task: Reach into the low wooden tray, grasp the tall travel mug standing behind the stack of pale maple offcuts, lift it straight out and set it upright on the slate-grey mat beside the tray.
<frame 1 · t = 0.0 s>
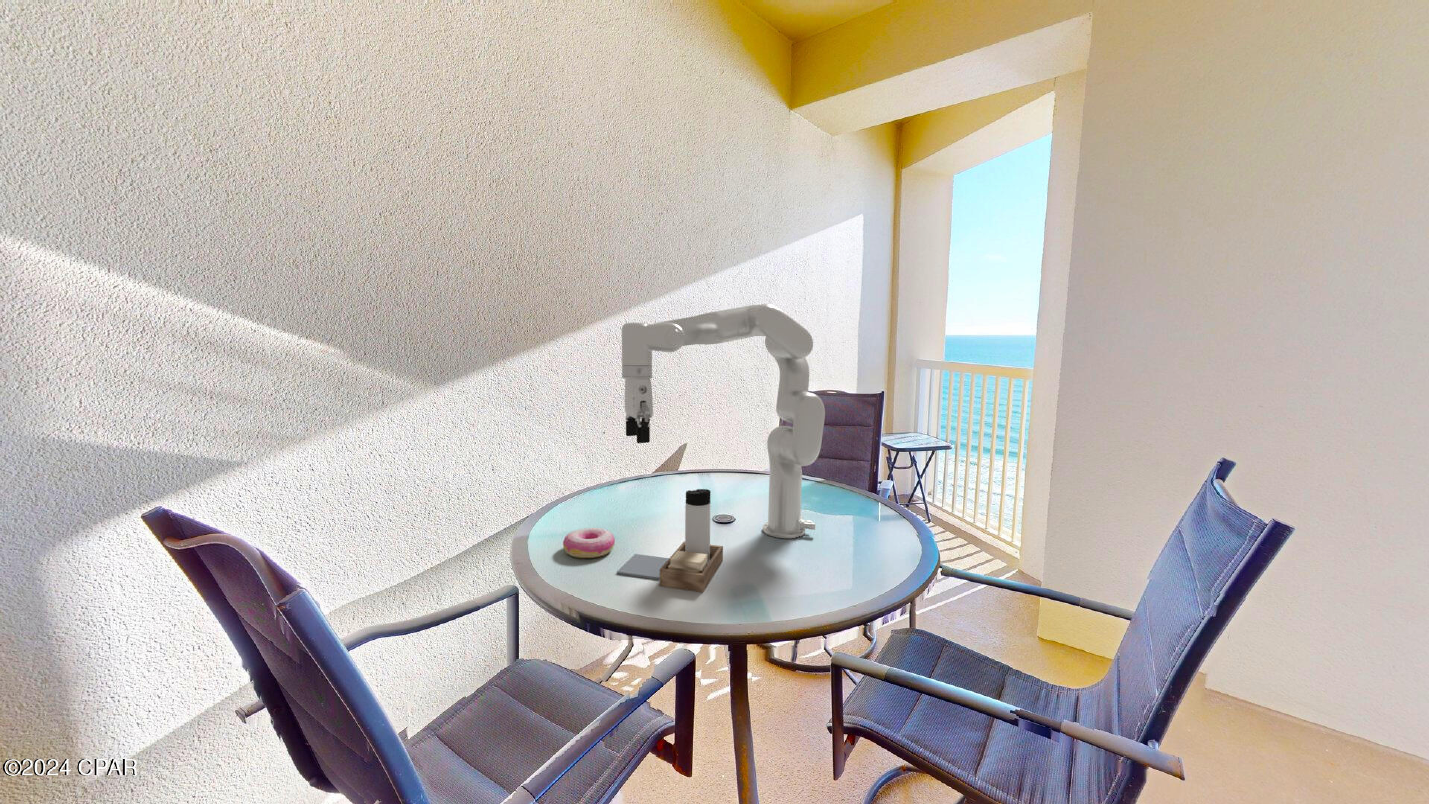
hand: (637, 439, 137), 31 cm above the table, tool pointing down, fingers open, 9 cm apart
donut: (589, 552, 144), on the table
slate mat: (646, 567, 134), on the table
wooden tray: (692, 572, 131), on the table
maple offcut stack: (687, 580, 128), resting in wooden tray
travel mug: (697, 566, 135), resting in wooden tray
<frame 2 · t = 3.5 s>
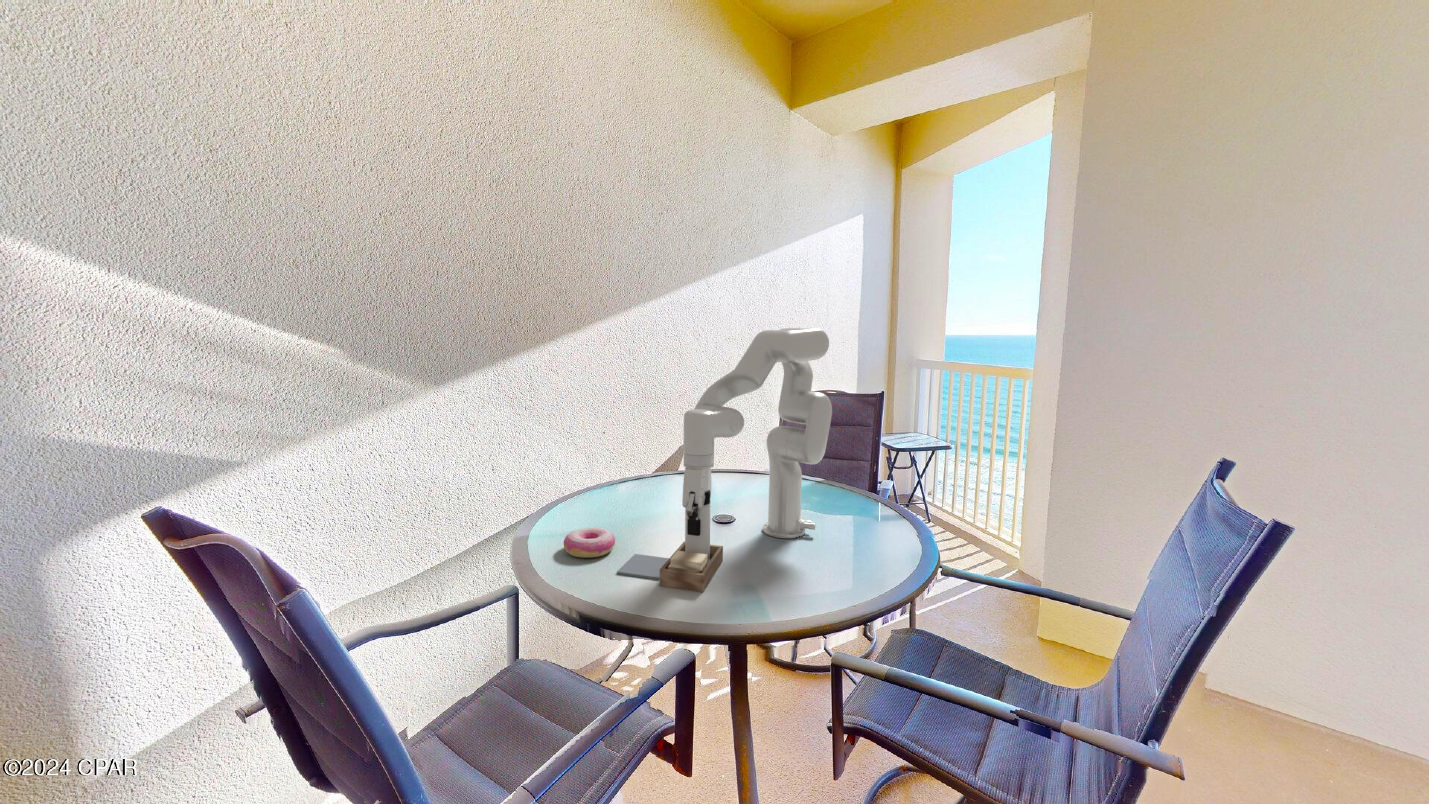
hand: (698, 529, 134), 10 cm above the table, tool pointing down, fingers closed on travel mug, 6 cm apart
travel mug: (697, 566, 135), resting in wooden tray, touching gripper
everything else where it was.
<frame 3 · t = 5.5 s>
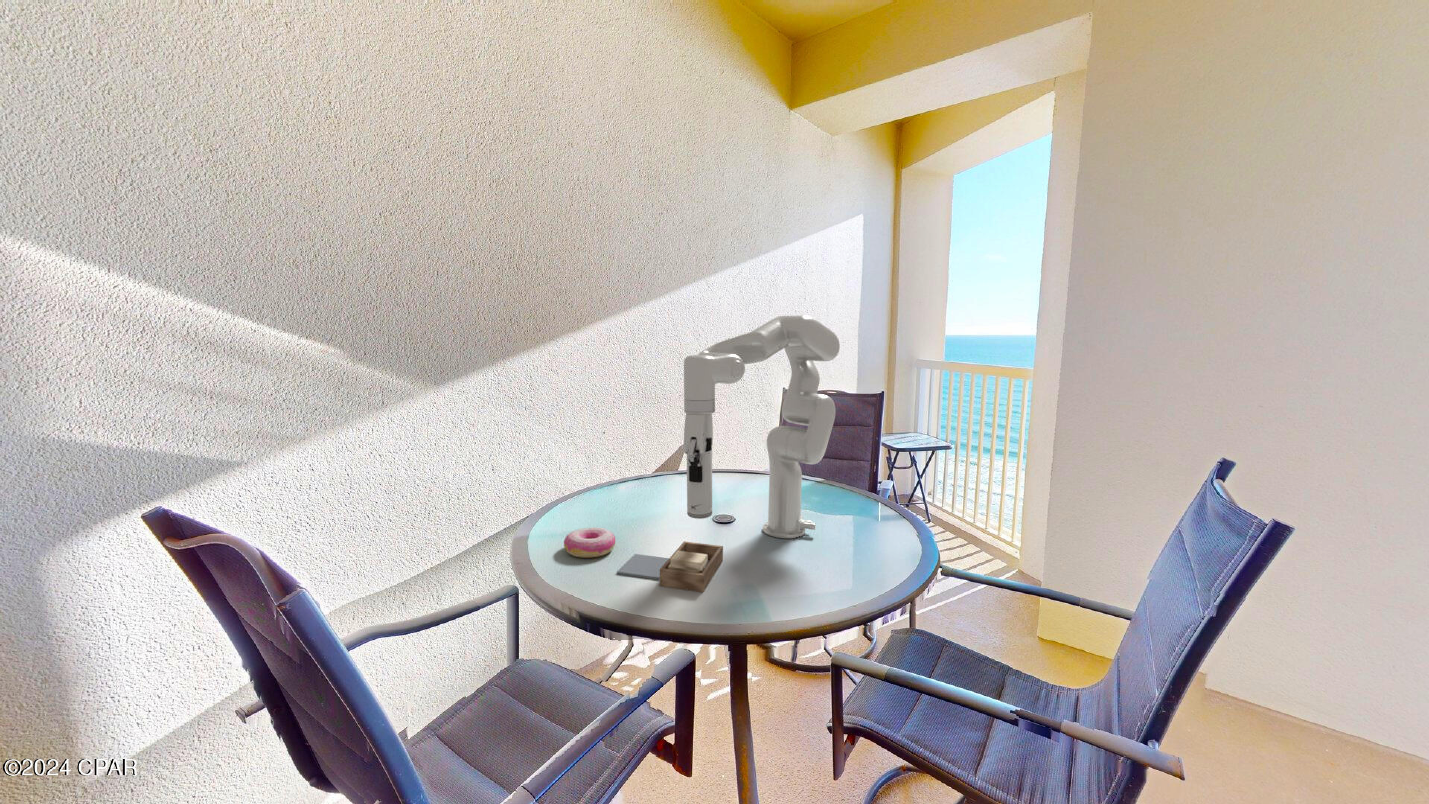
hand: (700, 477, 133), 23 cm above the table, tool pointing down, fingers closed on travel mug, 6 cm apart
travel mug: (700, 515, 134), point 13 cm above the table, touching gripper
everything else where it was.
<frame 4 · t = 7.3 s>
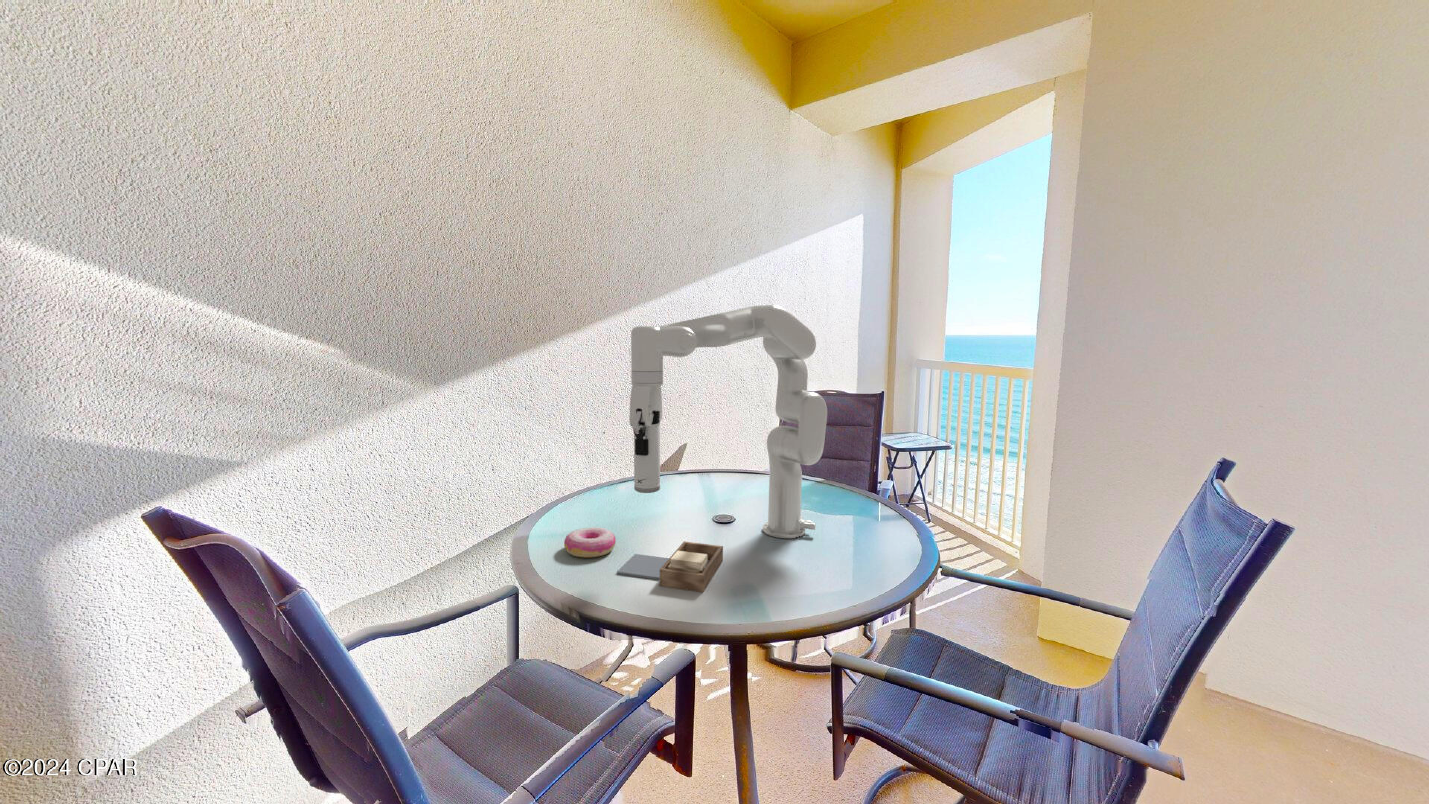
hand: (647, 451, 130), 30 cm above the table, tool pointing down, fingers closed on travel mug, 6 cm apart
travel mug: (647, 490, 132), point 20 cm above the table, touching gripper
everything else where it was.
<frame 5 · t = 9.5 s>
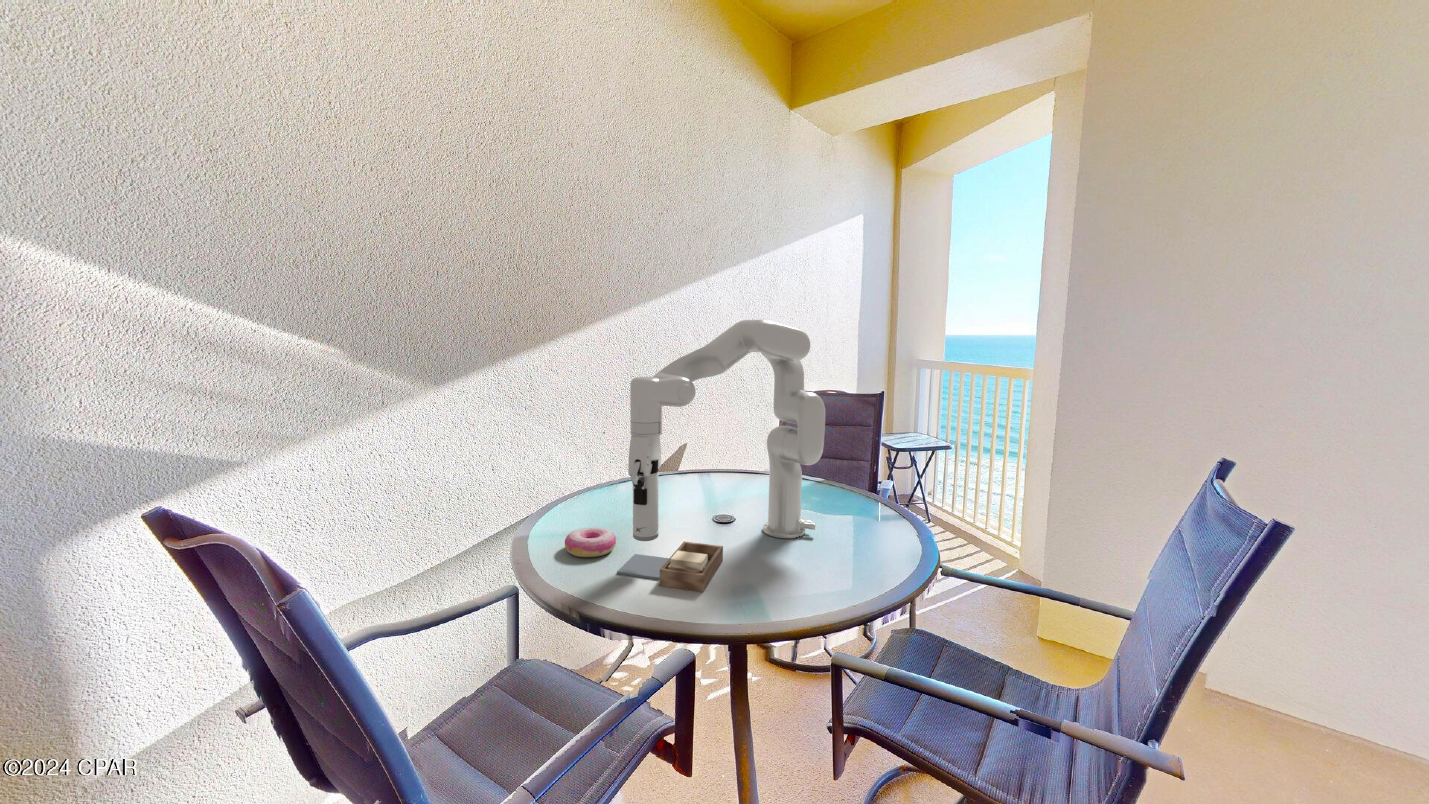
hand: (646, 499, 132), 18 cm above the table, tool pointing down, fingers closed on travel mug, 6 cm apart
travel mug: (645, 537, 133), point 8 cm above the table, touching gripper
everything else where it was.
when the fingers open (11 cm above the table, at t = 11.3 s): travel mug stays where it is, resting on slate mat.
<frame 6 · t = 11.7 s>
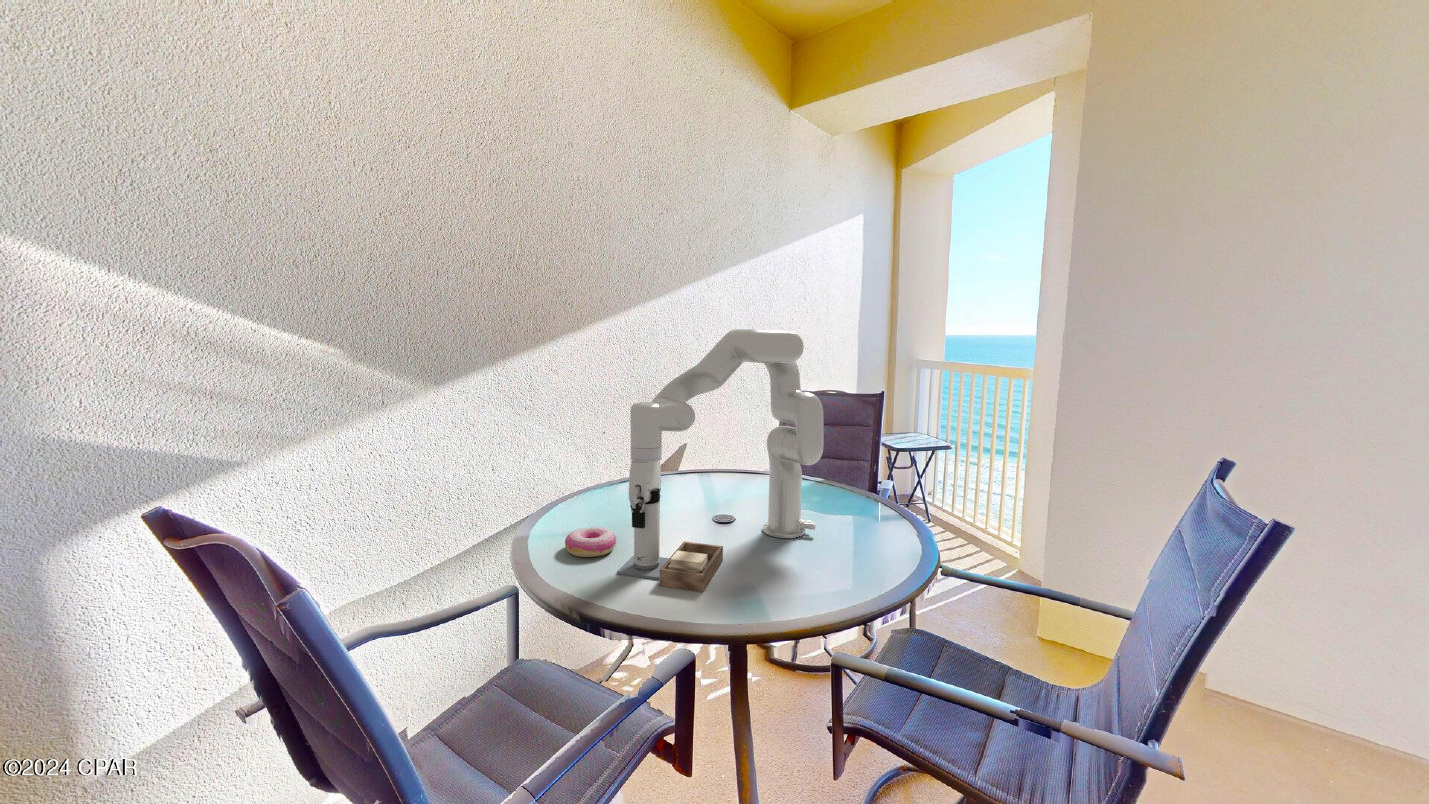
hand: (646, 520, 133), 12 cm above the table, tool pointing down, fingers open, 9 cm apart
travel mug: (646, 566, 134), resting on slate mat
everything else where it was.
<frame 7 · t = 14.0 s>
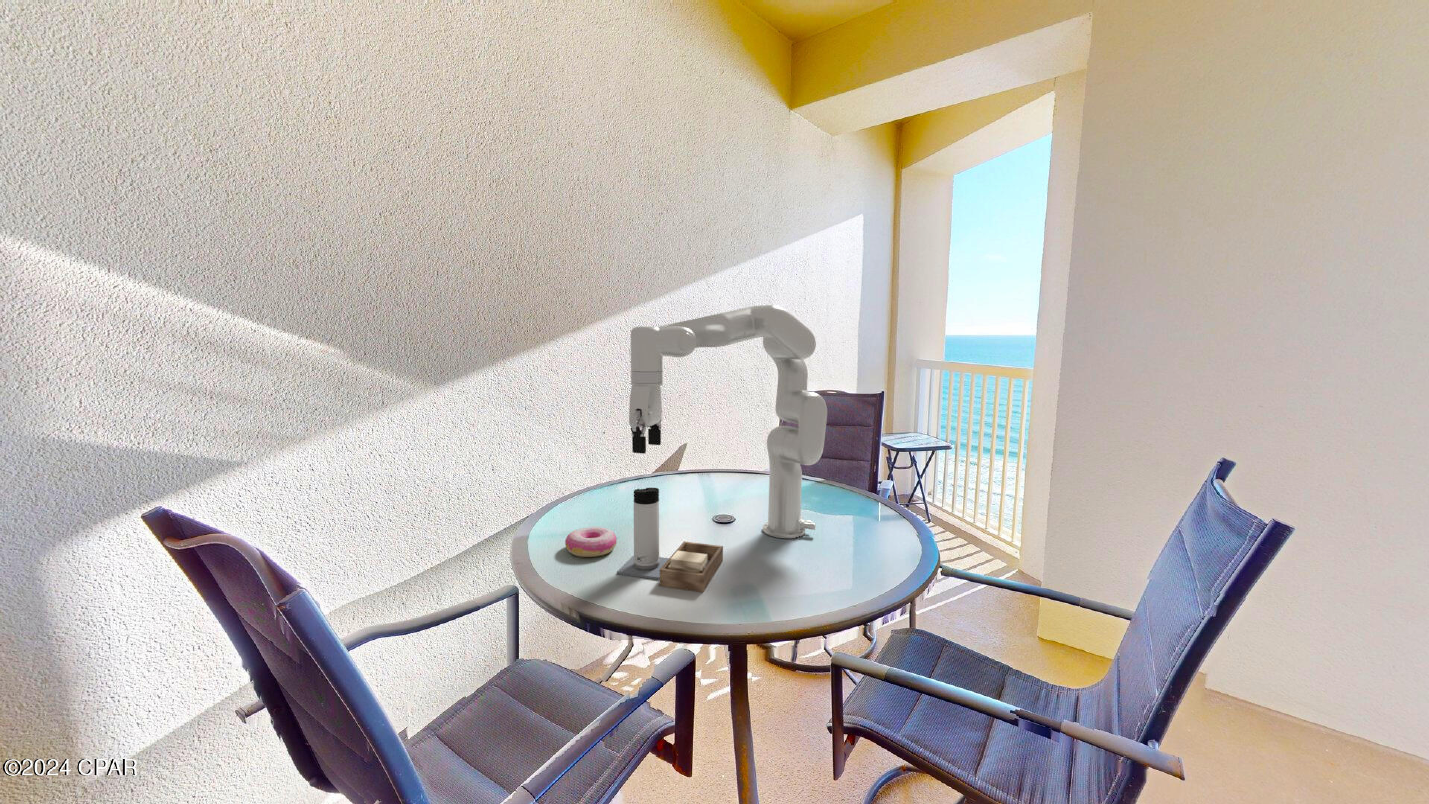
hand: (647, 448, 130), 30 cm above the table, tool pointing down, fingers open, 9 cm apart
nothing on the table moved.
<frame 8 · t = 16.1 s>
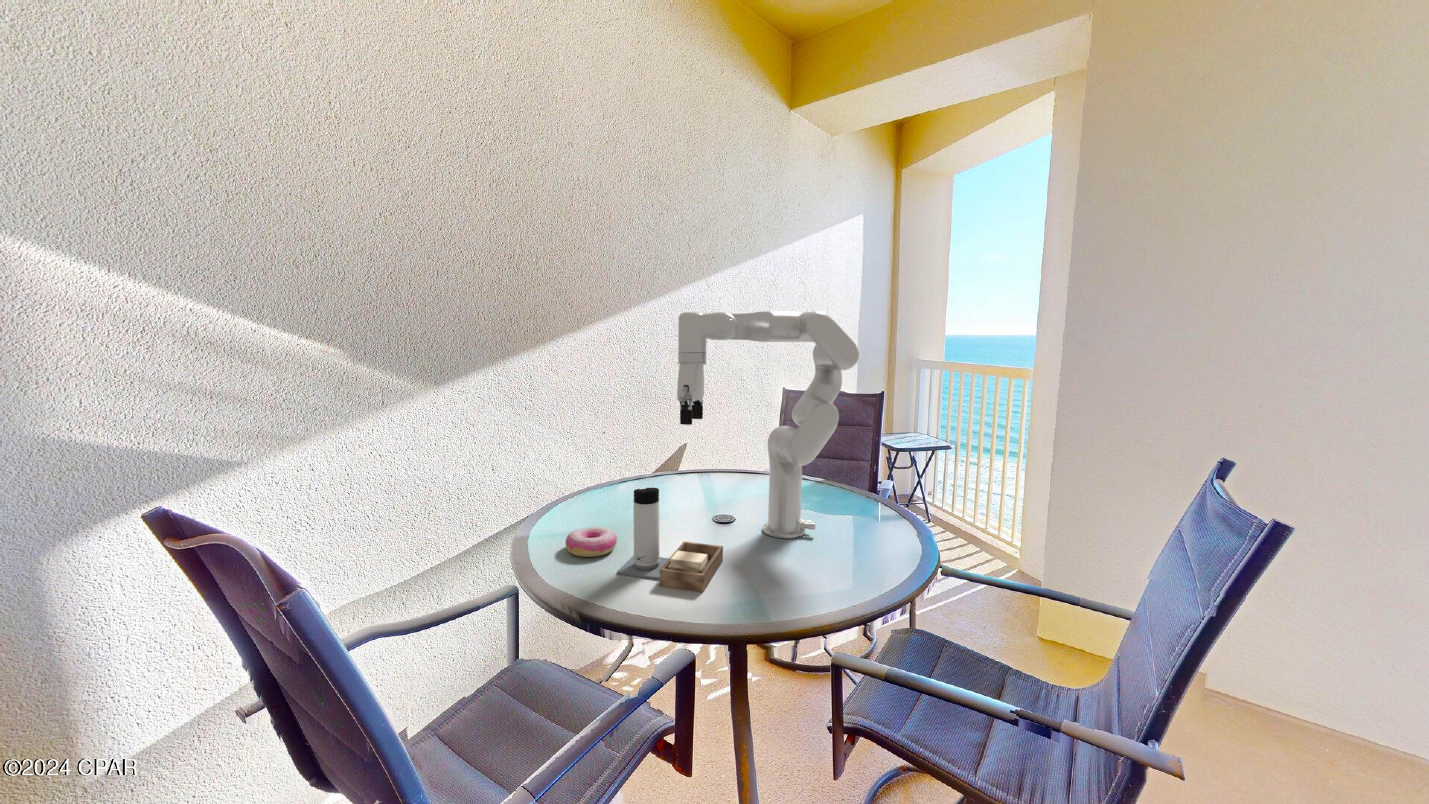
hand: (691, 421, 146), 34 cm above the table, tool pointing down, fingers open, 9 cm apart
nothing on the table moved.
at the end: travel mug inside the target area on the slate mat (0.3 cm from its centre), point 0.4 cm above the slate mat's base; travel mug tilted 0°; maple offcut stack moved 0.1 cm from its start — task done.
